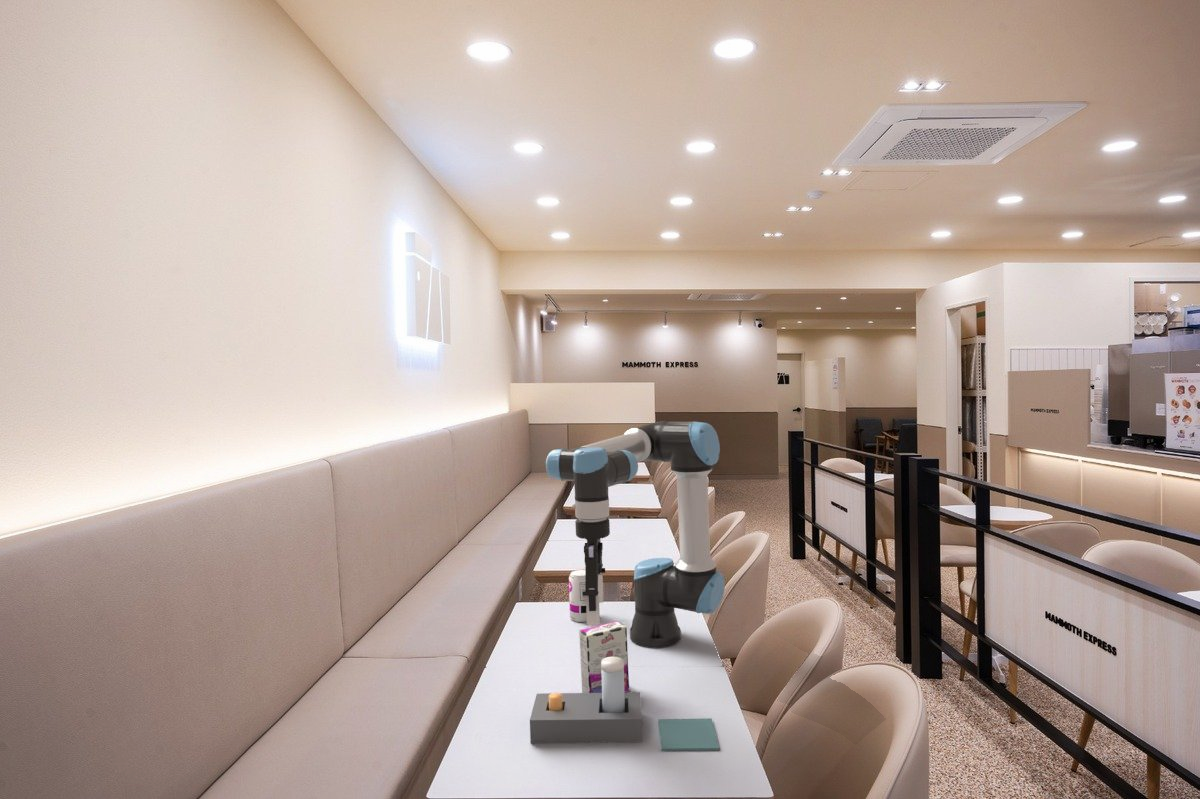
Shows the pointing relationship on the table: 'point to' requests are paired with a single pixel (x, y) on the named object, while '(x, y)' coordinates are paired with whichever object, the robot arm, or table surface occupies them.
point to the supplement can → (577, 596)
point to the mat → (687, 735)
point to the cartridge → (613, 685)
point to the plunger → (555, 702)
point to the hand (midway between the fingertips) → (595, 612)
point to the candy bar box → (601, 653)
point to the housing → (585, 720)
